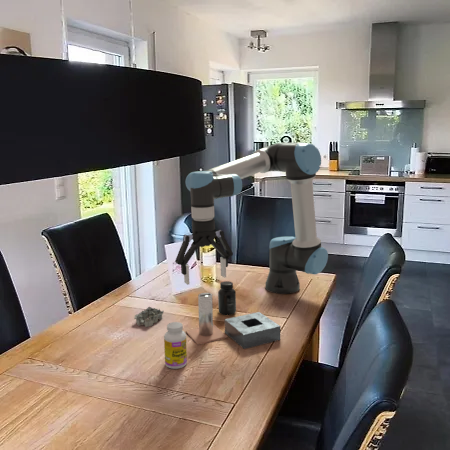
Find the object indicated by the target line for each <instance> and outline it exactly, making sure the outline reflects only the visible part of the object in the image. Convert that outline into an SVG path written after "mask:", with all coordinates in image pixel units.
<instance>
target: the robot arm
mask: <svg viewBox="0 0 450 450" xmlns="http://www.w3.org/2000/svg"><path fill="white" fill-rule="evenodd" d="M320 166H322V155H321V152H320V151H319V148H318V147H316V146H315V144H312V143H309V142H307V143H306V142H284V141H283V142H277V143H273V144H270V145H267V146H265V147H262V148H259V149H256V150H255V151H254V152H253V154H250V155H249V154H248V155H247V156H243V157H241V158H238V159H235V160H233V161H230V162H226V163H224V164H223V163H222V164H220V165H218V166H215V167H213V168H209V169H206V170H200V171H192V172H190V173H188V175H187V176H186V178H185V187H186V188H187V190H188V191H189V192H190V205H191V206H190V207H191V209H190V210H191V219H192V220H191V228H192V229H191V230H192V234H191V235H190V234H189V235H187V234H183V236H182V239H183V240H182V243H181V245H180V248H179V251H178V253H177V256H176V258H175V261H174V263H176V264H177V265H178V266H179V265H180V270H181V271H180V272H181V275H183V276H184V277H183V279H184V282H183V283H184V284H186V285H190V268H189V264H188V263H189V261H190V260H191V259H192V257H193V255H194V254H195V253H196V251H197V250H198V249H199V247H200V248H204V247H209V246H212V247H213V248H214V249H215V250H216V251H217V253H219V254H220V255H221V257H219V258H220V259H219V261H220V277H222V278H227V268H228V267H229V259H230V257H233V256H234V253H233V251H232V249H231V247H230V245H229V243H228V241H227V239H226V237H225V232H224V230H221V229H218V230H217V231H215V229H216V224H215V223H216V221H215V200H216V199H222V198H223V199H224V198H228V197H231V198H232V197H234V196H237V195H239V194H240V193H241V192H242V189H243V181H242V180H243V179H245V178H248V177H250V176H253V175H255V174H258V173H260V174H265V173H269V172H282V173H285V179H286V180H287V181H288V182H289V183H290V191H291V201H292V212H293V223H294V224H293V225H294V234H295V236H278V237H274V238H272V239H270V241H269V247H268V250H269V252H268V253H269V264H268V265H269V272H268V275H267V278H266V281H265V286H264V287H265V289H266V291H267V292H270V293H273V294H279V295H280V294H283V295H287V294H293V293H297V292H299V291H300V289H301V288H300V287H301V284H300V280H299V277H298V273H297V271H299V272H301V273H305V274H308V275H309V274H310V275H318V274H320V273H321V272H322V271H323V270H324V269H325V267H326V266H327V263H328V259H329V254H328V253H329V252H328V250H327V249H326V248H325V247H323V246H322V241H321V239H320V237H318V236H317V225H316V224H317V223H316V211H315V208H316V207H315V199H314V198H315V197H314V184H313V180H314V179H315V178H316V177H317V173H318V172H319V170H320V169H321V167H320ZM216 237H217V238H218V239H219V242H220V243H221V245H222V246H223V249H222V247H220V245H219V244H218V243H217V241H215V238H216ZM191 240H192V242H191ZM190 243H191V244H190ZM189 245H190V247H189ZM188 247H189V248H188Z"/></svg>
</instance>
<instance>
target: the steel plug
mask: <svg viewBox="0 0 450 450" xmlns="http://www.w3.org/2000/svg"><path fill="white" fill-rule="evenodd" d="M197 299H198V302H197V303H198V304H197V305H198V328H199V334H200V335H201V336H211V335H212V334H213V324H214V319H213V317H214V316H213V315H214V314H213V313H214V311H213V307H214V306H213V294H212V293H210V292H202V293H198V297H197Z"/></svg>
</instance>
